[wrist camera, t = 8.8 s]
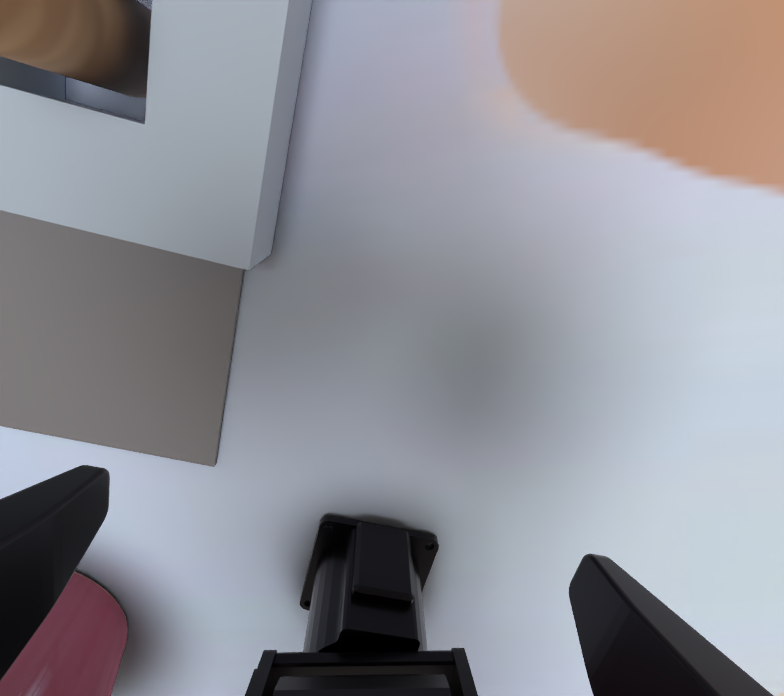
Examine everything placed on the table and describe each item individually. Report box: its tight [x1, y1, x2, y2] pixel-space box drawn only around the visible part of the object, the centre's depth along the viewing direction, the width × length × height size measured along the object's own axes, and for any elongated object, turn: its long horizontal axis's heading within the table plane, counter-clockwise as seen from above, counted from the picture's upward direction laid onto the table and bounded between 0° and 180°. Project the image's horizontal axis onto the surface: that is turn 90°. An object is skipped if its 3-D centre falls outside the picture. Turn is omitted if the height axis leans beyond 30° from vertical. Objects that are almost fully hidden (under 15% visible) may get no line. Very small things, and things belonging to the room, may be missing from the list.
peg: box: [0, 0, 152, 97], centre depth 12 cm, size 3×3×9 cm
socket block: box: [0, 0, 312, 270], centre depth 15 cm, size 12×12×4 cm
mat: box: [0, 210, 244, 467], centre depth 20 cm, size 14×10×1 cm
